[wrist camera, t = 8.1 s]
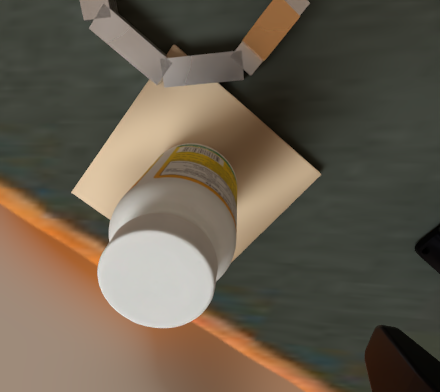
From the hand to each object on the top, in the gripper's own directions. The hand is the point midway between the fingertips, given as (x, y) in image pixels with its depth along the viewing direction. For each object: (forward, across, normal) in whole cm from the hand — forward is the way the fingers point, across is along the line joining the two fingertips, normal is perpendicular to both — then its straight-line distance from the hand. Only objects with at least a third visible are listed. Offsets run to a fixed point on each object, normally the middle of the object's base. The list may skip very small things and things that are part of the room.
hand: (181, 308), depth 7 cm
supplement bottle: (+13, +1, +2) cm, 13 cm away
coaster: (+13, +1, +2) cm, 13 cm away
